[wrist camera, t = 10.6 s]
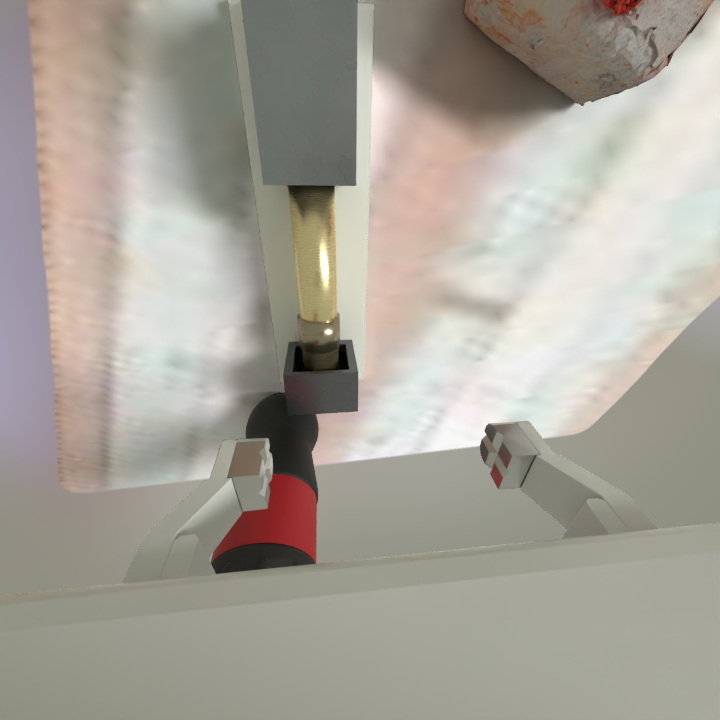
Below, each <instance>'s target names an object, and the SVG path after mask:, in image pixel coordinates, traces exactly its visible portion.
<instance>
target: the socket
mask: <svg viewBox="0 0 720 720" xmlns="http://www.w3.org/2000/svg"><path fill="white" fill-rule="evenodd" d="M338 354H339V370H330V371H309V372H304V363H303V352H302V349H301V347H300V341H299V342H289V344H288V349H287V355H286V361H285V367H284V373H283V379H284V387H285V395H286V402H287V410H288V415H305V414H321V413H338V412H355V411H358V368H357V363H356V358H355V352H354V347H353V342H352V340H340V346H339V347H338Z"/></svg>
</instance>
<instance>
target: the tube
mask: <svg viewBox="0 0 720 720" xmlns="http://www.w3.org/2000/svg"><path fill="white" fill-rule="evenodd" d="M288 194H289V206H290V217H291V228H292V239H293V251H294V262H295V273H296V284H297V295H298V307H299V314H298V316H297V320H298V331H299V341H300V347H301V349H302V352H303V363H304V372H309V371H330V370H339V354H338V347H339V346H340V315H339V313H338V310H337V266H336V222H335V186H316V185H288Z"/></svg>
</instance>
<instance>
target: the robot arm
mask: <svg viewBox="0 0 720 720" xmlns="http://www.w3.org/2000/svg"><path fill="white" fill-rule="evenodd" d="M485 433H486V434H487V435H486V436H485V437H484V438H483V439H482V441H481V444H480V450H481V456H482V459H483V461H484V463H485V464H486V465H487V466H489V467H490V468H491V473H490V474H491V476H492V478H493V480H494V482H495V484H496V485H497V488H498V489H514V488H521V490H522V491H523V492H524V493H525V494H526V495H528V496H529V497H530V498H531V499H532V500H534V501H535V502H536V503H537V504H538V505H539V506H540V507H542V508H543V509H544V510H545V511H547V513H549V514H550V515H551V516H552V517H553V518H554V519H556V520H557V521H558V522H559V523H560V524H562V525H563V526H564V527H565V528H566V529H567V530H566V531H565V533H564V534H563V536H562V537H561V539H555V540H545V541H535V542H526V543H516V544H506V545H496V546H486V547H476V548H466V549H456V550H446V551H436V552H427V553H417V554H408V555H397V556H388V557H378V558H369V559H358V560H349V561H340V562H329V563H319V564H309V565H299V566H290V567H280V568H270V569H260V570H250V571H240V572H231V573H221V574H216V573H215V571H214V569H213V567H212V565H211V563H210V561H209V559H208V558H209V557H210V556H211V554H212V553H213V552H214V550H215V549H216V548H217V546H218V545H219V544H220V542H221V541H222V540H223V538H224V537H225V536H226V534H227V533H228V532H229V530H230V529H231V528H232V526H233V525H234V524H235V522H236V521H237V520H238V518H239V517H240V516H241V514H242V512H243V511H252V510H261V509H268V502H269V496H270V488H269V483H270V481H271V480H272V475H273V458H272V453H270V452H269V448H270V443H269V439H268V438H255V439H236V440H224V441H223V442H222V443H221V446H220V449H219V452H218V455H217V458H216V461H215V464H214V467H213V470H212V473H211V476H210V479H209V480H204V481H203V482H202V483H201V484H200V485H199V486H198V487H197V488H196V489H195V490H193V491H192V492H191V493H190V494H189V495H188V496H187V497H186V498H185V499H184V500H183V501H182V502H181V503H179V505H177V506H176V507H175V508H174V509H173V510H172V511H171V512H170V513H169V514H167V515H166V516H165V517H164V518H163V519H162V520H161V521H160V522H159V523H158V524H157V525H156V526H155V527H153V528H152V529H151V530H150V531H149V532H148V533H147V534H146V535H145V536H144V537H143V538H142V540H141V542H140V544H139V546H138V549H137V551H136V553H135V555H134V557H133V560H132V562H131V564H130V566H129V568H128V570H127V573H126V575H125V577H124V579H123V581H122V583H121V584H112V585H102V586H91V587H82V588H72V589H62V590H52V591H42V592H32V593H22V594H12V595H1V596H0V720H720V523H712V524H702V525H692V526H682V527H673V528H663V529H658V528H657V527H656V526H655V525H654V524H653V523H652V522H651V520H650V519H649V518H648V517H647V516H646V515H645V514H644V512H643V511H642V510H641V509H640V508H639V507H638V506H637V505H636V503H635V502H634V501H633V500H632V499H631V498H630V497H629V495H627V494H626V493H624V492H622V491H621V490H619V489H617V488H616V487H614V486H612V485H610V484H609V483H607V482H605V481H604V480H602V479H600V478H598V477H597V476H595V475H593V474H592V473H590V472H588V471H587V470H585V469H583V468H581V467H580V466H578V465H576V464H575V463H573V462H571V461H569V460H568V459H566V458H564V457H563V456H561V455H559V454H554V453H553V452H552V450H551V449H550V448H549V447H548V445H547V444H546V443H545V441H544V440H543V439H542V437H541V436H540V435H539V433H538V432H537V431H536V429H535V428H534V427H533V426H532V424H531V423H530V422H528V421H519V422H505V423H491V424H488V425H487V426H486V428H485Z"/></svg>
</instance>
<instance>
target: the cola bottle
mask: <svg viewBox="0 0 720 720" xmlns="http://www.w3.org/2000/svg"><path fill="white" fill-rule="evenodd" d="M255 438H268V439H269V443H270V448H269V452H270V453H272V458H273V475H272V480H271V481H270V483H269V488H270V496H269V502H268V509H261V510H252V511H243V512H242V514H241V516H240V517H239V518H238V520H237V521H236V522H235V524H234V525H233V526H232V528H231V529H230V530H229V532H228V533H227V534H226V536H225V537H224V538H223V540H222V541H221V542H220V544H219V545H218V546H217V548H216V549H215V550H214V552H213V556H212V560H211V565H212V567H213V569H214V571H215V573H216V574H221V573H231V572H240V571H250V570H260V569H270V568H280V567H290V566H299V565H309V564H316V511H317V501H318V488H317V482H316V476H315V470H314V465H313V459H312V450H313V448H314V446H315V444H316V441H317V438H318V421H317V417H316V414H305V415H288V410H287V402H286V395H285V394H275V395H272V396H269V397H267V398H265V399H264V400H262V401H261V402H260V403H259V404H258V405H257V406H256V407H255V409H254V410H253V412H252V413H251V415H250V417H249V419H248V422H247V426H246V439H255Z"/></svg>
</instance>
